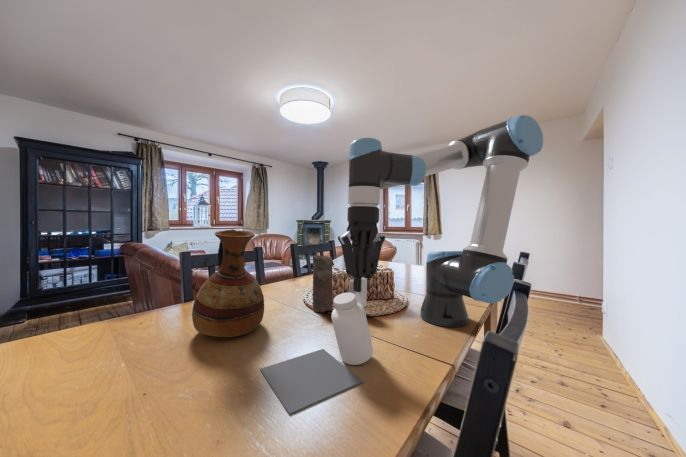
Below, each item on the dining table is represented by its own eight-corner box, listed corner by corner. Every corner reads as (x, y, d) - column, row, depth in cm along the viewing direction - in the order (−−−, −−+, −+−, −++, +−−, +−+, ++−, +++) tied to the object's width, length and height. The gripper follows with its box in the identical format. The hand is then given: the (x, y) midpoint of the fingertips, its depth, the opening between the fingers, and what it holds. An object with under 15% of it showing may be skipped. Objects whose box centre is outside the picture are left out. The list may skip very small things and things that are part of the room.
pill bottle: (373, 365, 58) (358, 304, 55) (338, 367, 60) (322, 308, 57) (375, 341, 65) (362, 287, 62) (344, 344, 67) (330, 291, 64)
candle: (312, 306, 100) (313, 254, 99) (332, 306, 100) (332, 254, 100) (312, 313, 92) (312, 257, 92) (332, 313, 93) (333, 257, 92)
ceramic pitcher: (202, 353, 64) (201, 231, 63) (185, 327, 79) (184, 228, 78) (275, 331, 77) (276, 230, 76) (249, 312, 92) (249, 228, 91)
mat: (323, 349, 66) (323, 348, 66) (362, 382, 53) (362, 381, 53) (260, 369, 57) (260, 368, 57) (289, 415, 44) (289, 413, 44)
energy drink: (365, 312, 94) (365, 279, 94) (361, 317, 89) (362, 282, 89) (351, 310, 96) (351, 277, 96) (346, 315, 91) (347, 280, 91)
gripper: (373, 208, 69) (370, 297, 69) (332, 205, 61) (329, 304, 62) (394, 207, 63) (390, 304, 63) (351, 203, 55) (347, 314, 56)
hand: (360, 304), depth 63 cm, fingers closed
